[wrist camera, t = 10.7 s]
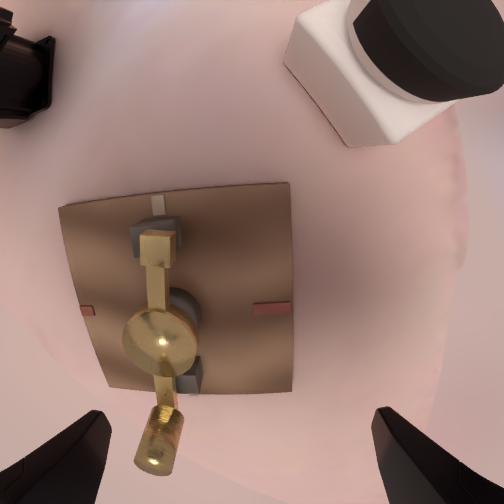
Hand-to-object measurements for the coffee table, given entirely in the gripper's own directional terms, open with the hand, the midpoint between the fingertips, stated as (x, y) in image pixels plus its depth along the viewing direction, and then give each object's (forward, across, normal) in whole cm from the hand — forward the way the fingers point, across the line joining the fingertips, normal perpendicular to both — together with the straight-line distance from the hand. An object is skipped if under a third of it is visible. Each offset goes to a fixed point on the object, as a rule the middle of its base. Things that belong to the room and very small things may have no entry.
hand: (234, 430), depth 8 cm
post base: (+13, +5, +2) cm, 14 cm away
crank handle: (+9, +5, +3) cm, 11 cm away
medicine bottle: (+13, -8, -13) cm, 20 cm away
